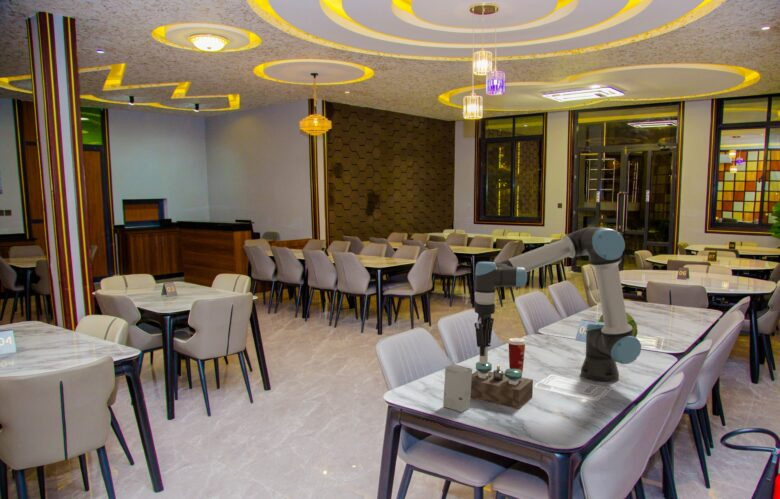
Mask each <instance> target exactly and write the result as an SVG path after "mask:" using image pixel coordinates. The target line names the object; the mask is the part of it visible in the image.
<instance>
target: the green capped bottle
mask: <svg viewBox="0 0 780 499" xmlns="http://www.w3.org/2000/svg"><path fill="white" fill-rule="evenodd" d="M504 372H505V373H504V374H505V376H506V377H507V378H508V384H514V385H518V384H519V379H520V378H523V372H522V371H521V370H519V369H510V368H506V369H505V371H504Z"/></svg>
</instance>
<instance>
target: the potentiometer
mask: <svg viewBox="0 0 780 499" xmlns="http://www.w3.org/2000/svg"><path fill="white" fill-rule="evenodd" d="M500 367H501V366H500V365H497V366H496V370H495V369H494V370H493V371H492V372H493V379H494V380H496V381H502V380H503V374H504V370H501V368H500Z"/></svg>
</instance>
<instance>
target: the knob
mask: <svg viewBox="0 0 780 499" xmlns="http://www.w3.org/2000/svg"><path fill="white" fill-rule="evenodd" d="M492 369H493V368H492V363H490V362H488V364H480V363H479V361H478V362H476V363H475V370H476V371H478V378H483V379H488V378H489V372H492Z"/></svg>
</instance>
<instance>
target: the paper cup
mask: <svg viewBox="0 0 780 499" xmlns="http://www.w3.org/2000/svg"><path fill="white" fill-rule="evenodd" d="M507 343H508V361H509V364H508V366H509V369H519V370H521V371H522V373H523V371H524V362H525V351H526V350H525V348H526V344H527V342H526V341H525V339H524V338H520V337H511V338H509V339H508V341H507Z"/></svg>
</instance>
